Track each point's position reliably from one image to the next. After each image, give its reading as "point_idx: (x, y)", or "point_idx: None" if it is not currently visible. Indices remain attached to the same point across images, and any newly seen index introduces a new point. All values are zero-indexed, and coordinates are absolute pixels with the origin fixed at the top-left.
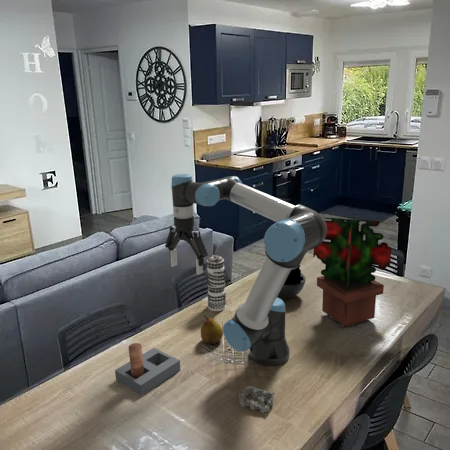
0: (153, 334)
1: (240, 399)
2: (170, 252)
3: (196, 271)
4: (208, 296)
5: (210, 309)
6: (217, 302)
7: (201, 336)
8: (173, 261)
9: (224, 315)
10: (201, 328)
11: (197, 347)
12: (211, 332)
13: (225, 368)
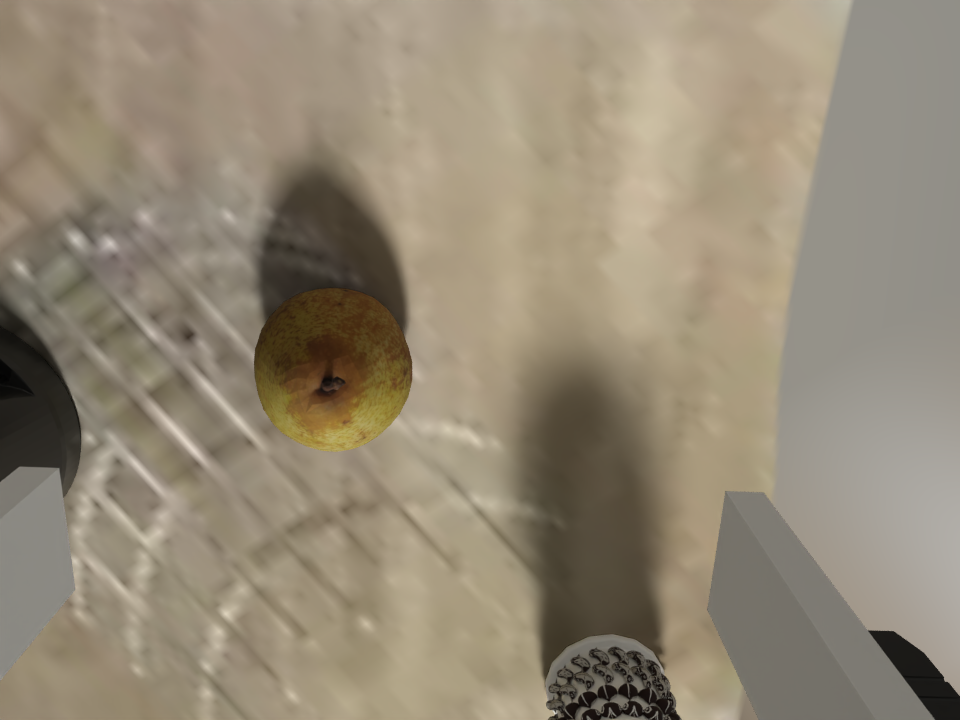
0: (749, 181)
1: None
2: (922, 710)
3: (26, 497)
4: (652, 706)
5: (617, 637)
6: (578, 695)
7: (367, 297)
8: (756, 578)
9: (493, 629)
10: (375, 329)
11: (368, 233)
12: (274, 328)
13: (48, 147)
